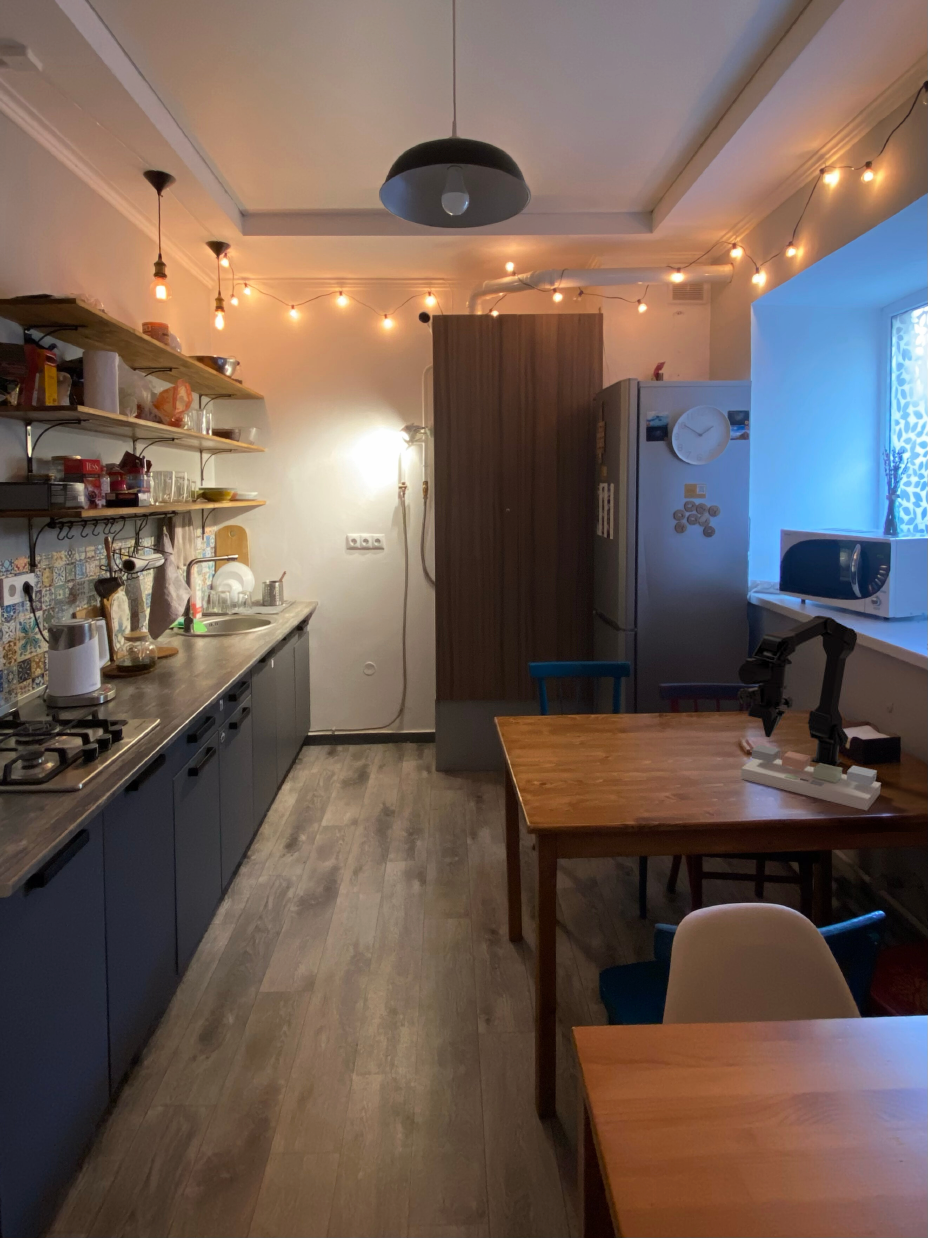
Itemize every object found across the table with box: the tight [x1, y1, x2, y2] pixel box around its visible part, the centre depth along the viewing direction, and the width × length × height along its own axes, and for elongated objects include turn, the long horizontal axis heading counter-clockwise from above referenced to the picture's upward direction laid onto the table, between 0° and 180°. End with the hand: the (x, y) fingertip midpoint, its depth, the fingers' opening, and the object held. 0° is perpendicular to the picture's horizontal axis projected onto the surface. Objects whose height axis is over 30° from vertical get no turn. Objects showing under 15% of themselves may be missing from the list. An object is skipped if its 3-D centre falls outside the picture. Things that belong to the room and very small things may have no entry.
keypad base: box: [740, 758, 882, 811], centre depth 204 cm, size 14×31×3 cm, turn 50°
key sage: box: [813, 763, 843, 783], centre depth 202 cm, size 6×6×2 cm
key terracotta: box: [781, 750, 812, 770], centre depth 206 cm, size 6×6×2 cm
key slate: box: [751, 744, 781, 763], centre depth 212 cm, size 6×6×2 cm
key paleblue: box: [846, 765, 878, 786], centre depth 196 cm, size 6×6×2 cm
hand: (768, 736), depth 211 cm, fingers closed
